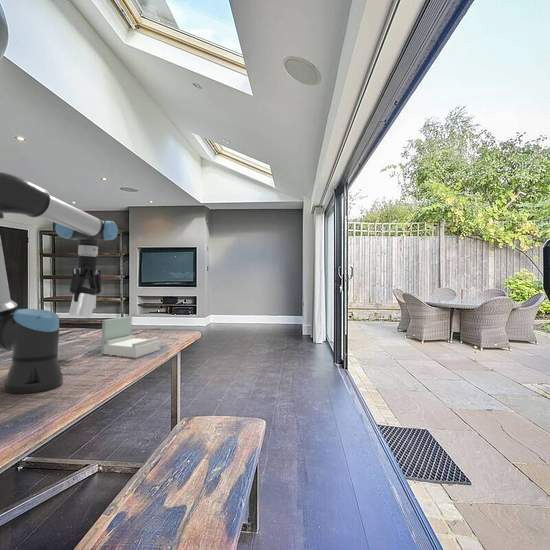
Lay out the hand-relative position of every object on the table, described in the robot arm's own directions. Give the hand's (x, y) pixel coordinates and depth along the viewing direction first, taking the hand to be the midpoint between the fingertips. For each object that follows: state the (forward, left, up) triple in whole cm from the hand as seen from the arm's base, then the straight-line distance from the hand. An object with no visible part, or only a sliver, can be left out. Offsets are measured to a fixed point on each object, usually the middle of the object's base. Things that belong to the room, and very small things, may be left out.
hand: (85, 309), depth 149 cm
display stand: (+14, -14, -20) cm, 28 cm away
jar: (-3, 0, -3) cm, 4 cm away
